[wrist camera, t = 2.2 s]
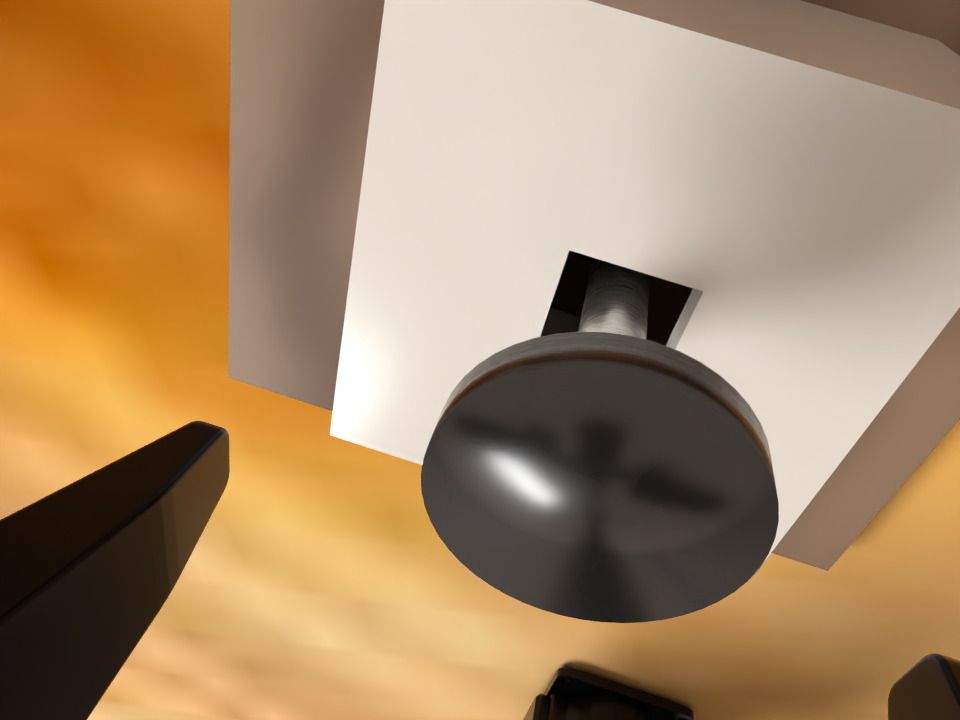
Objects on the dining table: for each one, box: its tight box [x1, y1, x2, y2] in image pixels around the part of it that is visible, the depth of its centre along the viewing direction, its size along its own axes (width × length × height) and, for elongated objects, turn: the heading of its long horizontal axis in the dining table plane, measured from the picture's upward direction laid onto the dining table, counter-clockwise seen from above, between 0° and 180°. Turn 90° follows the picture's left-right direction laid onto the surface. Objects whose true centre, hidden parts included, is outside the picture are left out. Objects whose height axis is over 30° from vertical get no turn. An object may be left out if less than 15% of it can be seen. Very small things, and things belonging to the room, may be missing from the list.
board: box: [229, 0, 960, 571], centre depth 19 cm, size 22×22×1 cm
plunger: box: [421, 258, 779, 623], centre depth 12 cm, size 5×5×7 cm
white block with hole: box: [330, 0, 960, 572], centre depth 16 cm, size 10×10×7 cm
